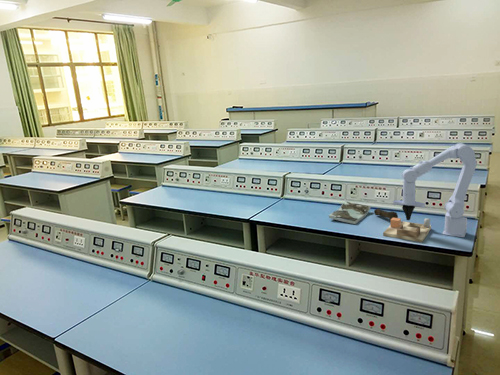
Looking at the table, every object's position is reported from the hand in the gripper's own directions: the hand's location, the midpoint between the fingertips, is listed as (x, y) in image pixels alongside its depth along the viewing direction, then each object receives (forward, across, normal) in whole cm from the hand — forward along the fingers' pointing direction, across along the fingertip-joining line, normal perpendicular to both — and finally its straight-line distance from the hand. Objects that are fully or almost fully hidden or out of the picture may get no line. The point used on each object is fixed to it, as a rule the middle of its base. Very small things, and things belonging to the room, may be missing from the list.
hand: (408, 219), depth 186 cm
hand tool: (+10, +18, -16) cm, 26 cm away
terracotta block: (+5, +6, 0) cm, 8 cm away
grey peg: (+5, -7, -6) cm, 11 cm away
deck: (+7, 0, +1) cm, 7 cm away
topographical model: (+7, +35, -12) cm, 38 cm away
